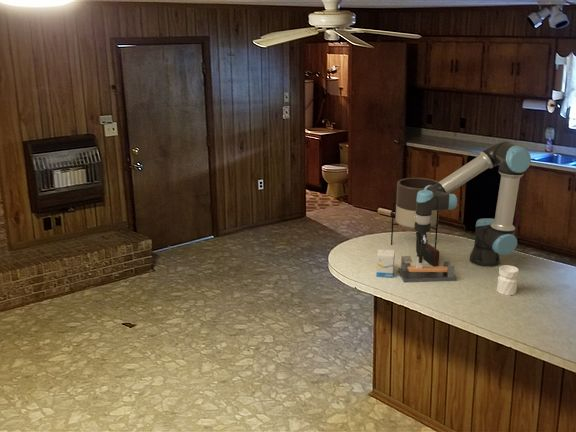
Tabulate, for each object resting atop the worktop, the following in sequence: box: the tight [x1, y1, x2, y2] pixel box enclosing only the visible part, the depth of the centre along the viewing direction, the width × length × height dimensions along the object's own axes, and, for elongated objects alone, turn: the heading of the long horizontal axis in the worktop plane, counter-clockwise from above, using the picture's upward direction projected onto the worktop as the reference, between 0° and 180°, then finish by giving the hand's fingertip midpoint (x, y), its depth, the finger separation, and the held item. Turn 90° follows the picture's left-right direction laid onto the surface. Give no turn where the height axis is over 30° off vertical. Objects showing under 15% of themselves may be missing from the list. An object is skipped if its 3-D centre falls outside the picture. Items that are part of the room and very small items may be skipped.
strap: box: [408, 265, 447, 272], centre depth 316 cm, size 21×5×1 cm, turn 93°
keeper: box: [400, 255, 413, 271], centre depth 320 cm, size 4×7×6 cm, turn 3°
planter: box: [390, 177, 440, 249], centre depth 358 cm, size 26×25×35 cm
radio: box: [423, 239, 441, 267], centre depth 335 cm, size 19×3×15 cm, turn 18°
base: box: [397, 259, 458, 283], centre depth 318 cm, size 26×13×8 cm, turn 93°
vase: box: [496, 264, 520, 295], centre depth 299 cm, size 9×9×12 cm
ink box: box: [375, 248, 396, 279], centre depth 321 cm, size 9×8×12 cm
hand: (419, 267), depth 315 cm, fingers closed
